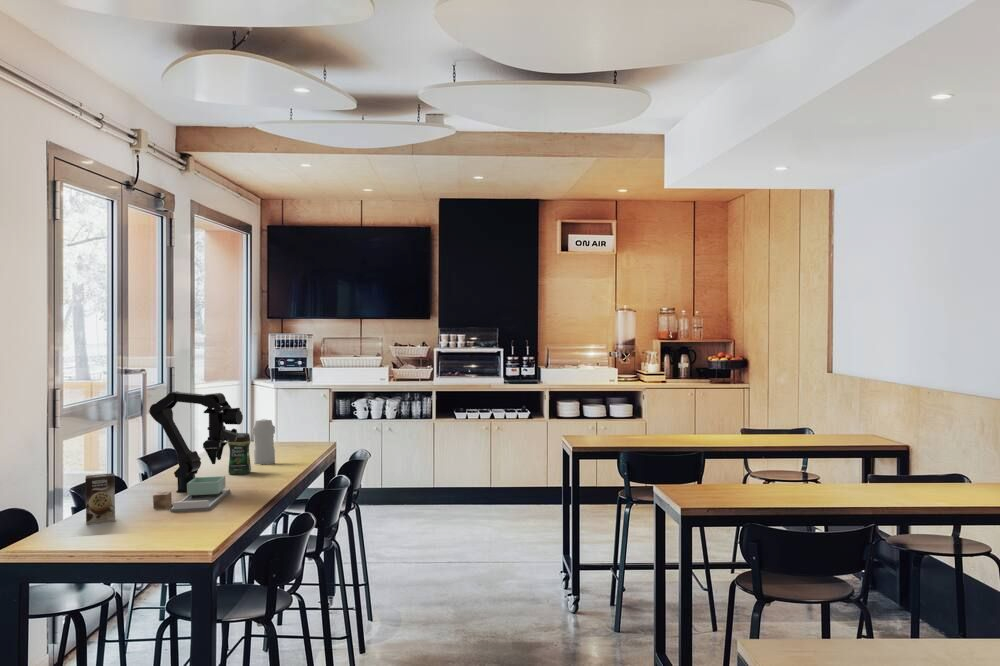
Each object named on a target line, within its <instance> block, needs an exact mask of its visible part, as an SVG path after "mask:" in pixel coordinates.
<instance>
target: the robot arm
mask: <svg viewBox="0 0 1000 666" xmlns="http://www.w3.org/2000/svg"><path fill="white" fill-rule="evenodd" d="M177 403H186V404H187V403H188V404H198V405H202V406H203V407H205V408H206V409H205V410H203V414H208V427H207V431H208V437H207V439H206V440H205V441H203V443H202V448H203V449H204V451H205V453H206V455H207V456H208V458H209V461H210V463H211V464H212V465H216V462H217V461H221V459H222V455H223V452H224V451H223V450H224V449H225V448H224V447H225V446H226V445H228V441H229V440H230V441H231V442H235V441H236V440H237V437H238V433H239V432H238V429H236V428H232V429H227V428H226V426H225V425H241V424H242V422H243V420H244V419H243V417H244V416H243V412H242V411H241V407H231V405H230V404H229V402H228V401H227V399H226V396H225V395H224V394H223V393H221V392H218V393H217V392H215V393H207V394H206V393H205V394H202V393H193V392H180V391H178V390H177V391H170V392H169V393H167V394H166V395H165V396H164V397H163V398H161V399H160V400H158V401H157V402H155V403H153V404H151V405H150V408H149V410H148V413H149V415H150V416H151V418H152V419H153V420H154V421H155V422H157V423H158V424H159V425H160V426H161V427H162V429H163V430H164V433H165V435H166V436H167V438H168V440H169V441H170V444H171V445H172V447H173V449H174V450H175V453H176V455H177V465H178V468H177V469H176V470H175V471H173V475H174V478H176V479H177V490H176V493H187V483H188V482H190V481H191V480H193V479H194V478H195V477H196V474H198V472H199V469H201V465H202V460H201V459H202V458H201V457H200V456H199V454H198V451H197V450H195V451H192V450H190V449H189V447H188V445H187V442H186V440H185V439H184V438H183V436H182V434H181V431H180V430H179V428H178V426H177V425H176V423H175V421H174V413H173V408H175V406H176V405H177ZM224 424H225V425H224Z"/></svg>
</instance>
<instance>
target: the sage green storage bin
mask: <svg viewBox="0 0 1000 666" xmlns="http://www.w3.org/2000/svg"><path fill="white" fill-rule="evenodd" d="M226 487H227V486H226V475H222V476H221V475H219V476H201V477H200V476H197V477H196V476H195V478H194V479H193V480H191V481H190V482H188V483H187V492H186V496H188V495H192V497H195V495H205V494H214V496H217V494H219V493H220V492H222V490H225V489H226Z"/></svg>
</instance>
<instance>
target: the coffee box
mask: <svg viewBox="0 0 1000 666" xmlns="http://www.w3.org/2000/svg"><path fill="white" fill-rule="evenodd" d="M84 480H85V524H86V525H93V524H99V523H102V524H103V523H109V522H116V504H115V503H116V502H115V501H116V497H115V494H116V492H115V490H116V488H115V486H116V485H115V473H114V472H111V473H102V474H101V473H100V474H90V475H89V474H88V475H85V479H84Z"/></svg>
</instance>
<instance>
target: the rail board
mask: <svg viewBox="0 0 1000 666" xmlns="http://www.w3.org/2000/svg"><path fill="white" fill-rule="evenodd" d="M230 493H231V489H230V488H228V487H227V489H223V490H222V492H220V493H219V494H217V496H214V494H205V495H195V497H192V495H186V496H185V497H184V498H183V499H182V500H180V501H174V502H172V503H173V506H172V507H171V508H170V512H171V513H178V512H196V511H201V512H202V511H211V510H212V509H213V508H215V507H216V506H217V505H218V504H219V503H220V502H221V501H222V500H223V499H224V498H225V497H226V496H228V495H229V494H230Z"/></svg>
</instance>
